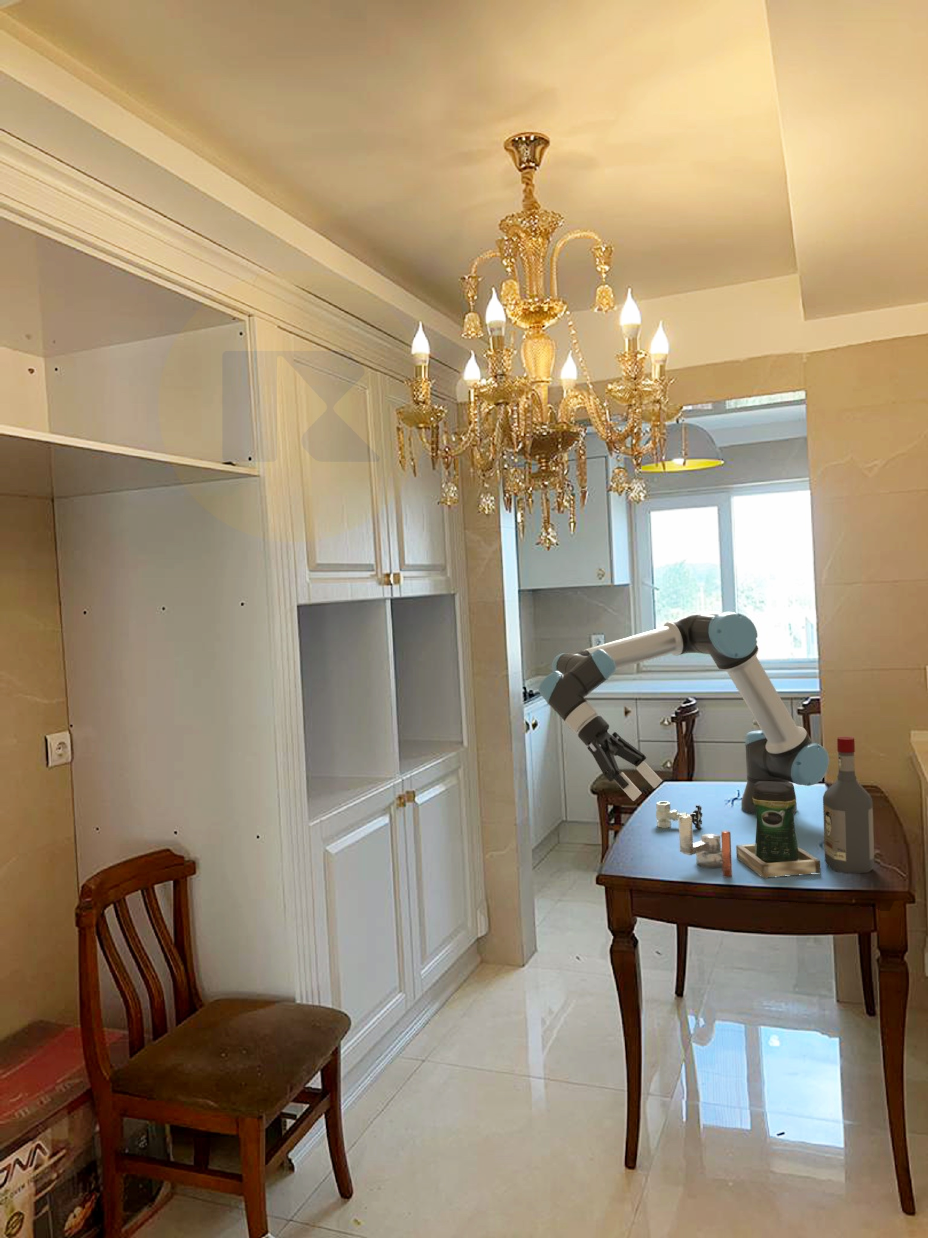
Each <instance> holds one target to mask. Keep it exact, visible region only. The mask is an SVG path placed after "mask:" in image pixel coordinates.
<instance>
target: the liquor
mask: <svg viewBox="0 0 928 1238" xmlns="http://www.w3.org/2000/svg"><path fill="white" fill-rule="evenodd" d="M836 742H837V743H836V745H837V746H836V747H837V749H836V750H837V753H838V754H837V758H838V759H837V760H838V761H837V765H838V773H837V775H836V778H837V779H836V780H835V781H834V782H833V783H832V784H831V785H830V786H829V787H828V788H827V789H826V790H825V791H824V793H823V795H822V810H823V811H822V812H823V837H824V839H823V842H824V862H825V863H826V865H827V866H828V867H829V866H830V868H831V869H832V870H833V869H834V870H833V871H834V872H837V873H841V872H842V873H843V874H846V873H847V874H848V873H850V874H866V873H870V872H871V871H872V870H873V869H874V867H875V843H874V841H875V838H874V809H873V808H874V806H873V805H874V803H873V798H872V796H871V794H870V793H869V792H868V791H867V789H865V788H864V787H863V785H862V784H860V782H859V781H858V780H857V776H856V769H855V766H856V765H855V752H856V748H855V747H856V746H855V737H850V736H838V737H837V738H836ZM842 873H841V874H842ZM848 875H849V874H848Z"/></svg>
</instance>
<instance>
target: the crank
mask: <svg viewBox="0 0 928 1238" xmlns="http://www.w3.org/2000/svg"><path fill="white" fill-rule="evenodd" d="M678 829H679V830H678V833H679V852H680V853H682V854H684V855H686V856H693V855H696V853H699V852H702V851H707V852H717V851H720V850H721V848H722V842H721V836H720V835H718V834H715V833H706V834H705V833H704V834H702V835H701V836H700V838H701V839H700V840H699V841H696V842H694V835H693V834H694V833H693V823H692V817H691V816H686V815H684V816H679V819H678Z"/></svg>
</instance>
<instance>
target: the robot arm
mask: <svg viewBox="0 0 928 1238" xmlns="http://www.w3.org/2000/svg"><path fill="white" fill-rule="evenodd" d="M758 636H759V635H758V631H757V628H756V626H755V623H754V622H753V621H752V620H751V618H749V617H747V616H746V615H744V614H742V613H738V612H734V611H710V610H709V611H708V610H707V611H706V610H705V611H697V612H695V613H692V614H690V615H686V616H683V617H680V618H677V619H674V620H671V621H667V622H665V623H664V625H663V626H662V627H659V628H656V629H653V630H649V631H645V632H641V633H638V634H634V635H631V636H627V637H624V638H621V639H617V640H613V641H610V642H606V643H603V644H600V645H596V646H592V647H588V648H585V649H582V650H579V651H574V652H571V653H570V652H564V653H563V652H562V653H560V654H557V656H555V657H554V659H553V660H552V663H551V671H552V673H549V674H548V675H547V676H546V677H545V678H543V679H542V681H541V682H540V683H539V685H538V692H539V694H540V696H541V697H542V698H543V699H544V700H545V702H546V703H547V705H549V706H550V707H551V708H552V709H553V710H554V711H555V713H557V715H558V716H559V717H561V719H562V720H563V722H565V723H566V725H567V727H568V728H569V729H571V730H572V731H573V732H574V733H575V734H577V737H578V738H579V739H580V741H582V743H584V745H585V746H586V747H587V750H588V751H589V752H590V753H591V754H592V757H593V758H594V760H595V762H596V763H597V765H598V767H599V768H600V771H601V772H602V774H603V776H604V778H605V779H606V780H607V781H608V782H610V783H612V782H613V781H614V782H615V783H616V784H617V785H618V786H619V787H620V788H621V789H622V791H624V793H626V795H627V796H628V797H629V798H630V799H631V801H633V802H634V801H635V800H637V799H638V798H639V797H640V796H641V795H642V794H643V793H642V791H641V790H639V788H638V787H637V786H636V785H635V784H634V783H633V782H632V780H631V779H630V778H629V777H628V776H627V775H626V774H625V772H623V771H622V772H621V771H620V768H619V766H618V763H617V761H616V758H615V756H616V757H617V756H618V757H620V758H622V760H625V761H626V762H628V763H629V764H631V765H633V766H635V769H636V771H637V772H638V773H639V774H640V775H641V776H642V777H643V778H644V779H645V781H646V782H648V784H650V786H651V787H652V788H653V789H656V788H657V787H658V786H659V785H660V784H661V783H662V782H663V779H662V778H661V777H660V776H659V775H658V774H657V773H656V772H655V771H654V770H653V769H652V767H650V766H649V764H647V762H646V761H645V760H646V759H647V757H646V755H645V754H644V753H642V752H641V751H640V750H639V749H637V748H636V747H634V746H633V745H632V744H631V743H629V742H628V741H626V740H625V739H623V737H621V736H620V735H619V733H618V732H615V731H614V732H613V733H612V734H610V733H609V732H608V730H609V729H610V724H608V722H607V721H606V720H605V719H604V717H602V716H601V715H599V712H598V711H597V710H596V709H595V708H594V707H593V706H592V705H591V704H590V702H588V700H587V699H586V698H585V697H587V696H588V695H590V693H592V692H593V691H594V690H595V689H597V688H599V686H600V685H602V684H603V683H604V682H606V681H607V680H609V678H610V677H612V676H613V675H614V673H616V670H619V669H622V668H623V669H624V668H626V667H629V666H632V665H636V664H640V663H644V662H647V661H651V660H653V659H657V658H661V657H664V656H667V655H673V656H676V657H677V656H681V655H685V654H702V655H703V654H704V655H710V656H711V657H710V658H712V660H713V662H714V664H715V665H716V666H717V668H718V669H719V670H720V671H725V672H727V675H728V676H729V677H730V679H731V681H732V683H733V684H734V685H735V688H736V690H737V691H738V693H739V694H740V696H741V698H742V700H743V701H744V703H745V705H746V707H747V708H748V710H749V712H750V713H751V714H752V717H753V718H754V720H755V721H756V724H757V725H758V727H759V729H760V730H759V729H758V730H753V731H749V732H747V733H746V735H745V740H744V741H745V744H744V747H745V764H746V765H745V767H746V768H745V769H746V784H745V787H744V792H743V795H742V798H741V803H740V806H741V810H742V811H743V812H746V813H749V814H752V815H756V808H755V805H754V803H753V792H754V791H753V790H754V785H755V784H756V783H757V782H758V781H771V782H786V783H792V784H793V783H794V784H795V785H797V786H798V785H800V786H805V787H807V786H808V787H812V786H814V785H817V784H818V783H819V782H821V781H822V780H823V778H825V776H826V774H827V772H828V768H829V765H830V758H829V754H828V751H827V750H826V748H825V747H824V746H822V745H821V744H819V743H817V742H814V741H812V738H811V736H810V735H809V733H808V731H807V730H806V729H805V728H804V727H802V726H799V725H797V724H796V722H795V721H794V719H793V717H792V716H791V714H790V712H789V711H788V708H787V707H786V705H785V704H784V701H783V700H782V699H781V696H780V695H779V693H778V691H777V689H776V688H775V686H774V684H773V683H772V681H771V679H770V677H769V675H768V674H767V672H766V671H765V668H764V667H763V665H762V664H761V662H760V660H759V658H758V656H757V655H758V652H759V647H758V640H757V638H758ZM635 802H636V801H635ZM797 804H798V802H796V804H795V806H794V814H795V813H796V812H797V810H798V805H797Z"/></svg>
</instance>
